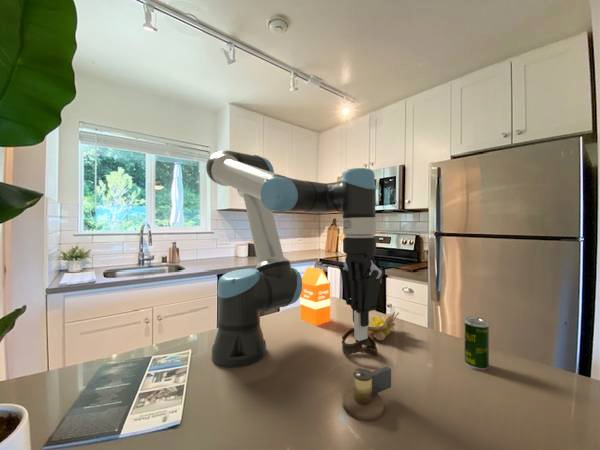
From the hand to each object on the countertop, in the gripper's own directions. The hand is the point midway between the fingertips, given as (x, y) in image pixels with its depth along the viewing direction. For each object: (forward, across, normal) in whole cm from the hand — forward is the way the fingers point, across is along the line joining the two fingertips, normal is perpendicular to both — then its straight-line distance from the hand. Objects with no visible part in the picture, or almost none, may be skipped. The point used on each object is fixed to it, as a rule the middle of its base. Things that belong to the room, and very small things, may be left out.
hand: (360, 338), depth 63 cm
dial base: (+11, +6, -5) cm, 13 cm away
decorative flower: (+11, -18, +25) cm, 33 cm away
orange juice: (+10, -40, +13) cm, 43 cm away
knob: (+9, +6, -2) cm, 11 cm away
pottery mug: (+11, -12, +10) cm, 19 cm away
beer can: (+11, +9, +31) cm, 34 cm away
